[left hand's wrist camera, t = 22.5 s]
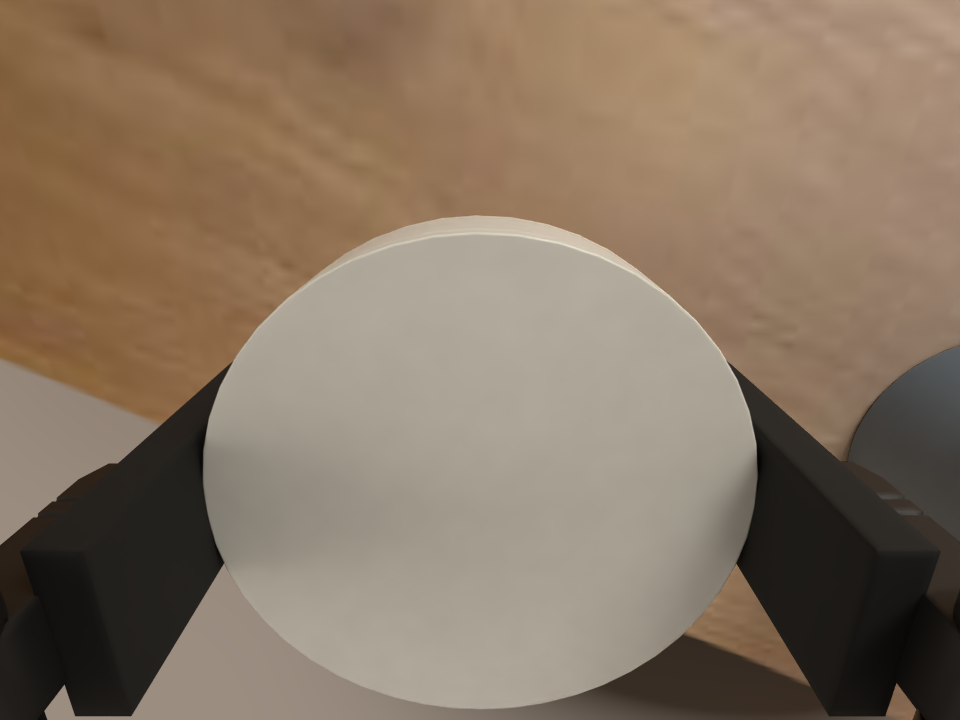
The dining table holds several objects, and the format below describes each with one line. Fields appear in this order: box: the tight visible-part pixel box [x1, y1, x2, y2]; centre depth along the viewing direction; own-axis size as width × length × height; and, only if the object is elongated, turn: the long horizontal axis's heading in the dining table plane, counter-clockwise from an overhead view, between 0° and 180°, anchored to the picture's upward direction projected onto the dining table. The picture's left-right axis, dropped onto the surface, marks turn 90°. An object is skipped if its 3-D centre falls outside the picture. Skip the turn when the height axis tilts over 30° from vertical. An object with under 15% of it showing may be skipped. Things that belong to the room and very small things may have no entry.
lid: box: [203, 215, 758, 709], centre depth 11 cm, size 9×9×2 cm
